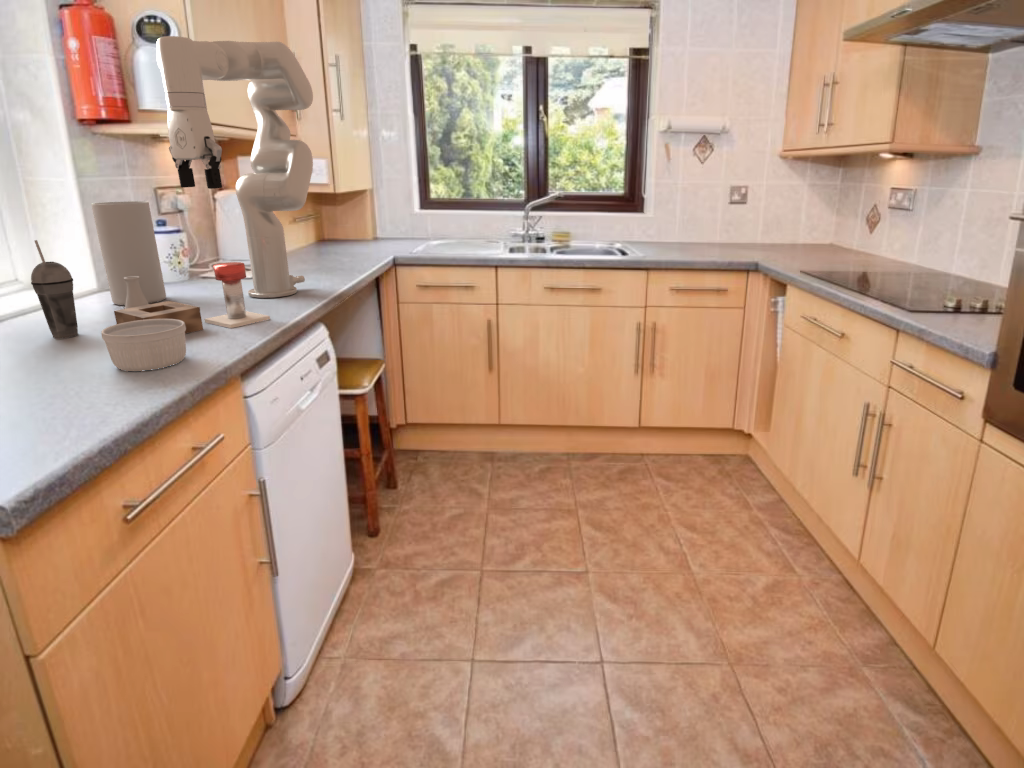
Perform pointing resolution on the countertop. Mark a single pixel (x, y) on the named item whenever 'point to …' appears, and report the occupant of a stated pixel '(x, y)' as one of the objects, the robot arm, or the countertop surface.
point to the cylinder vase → (129, 248)
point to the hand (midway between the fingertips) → (201, 187)
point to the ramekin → (146, 343)
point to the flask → (134, 293)
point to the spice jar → (232, 287)
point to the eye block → (163, 314)
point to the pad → (237, 320)
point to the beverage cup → (55, 297)
